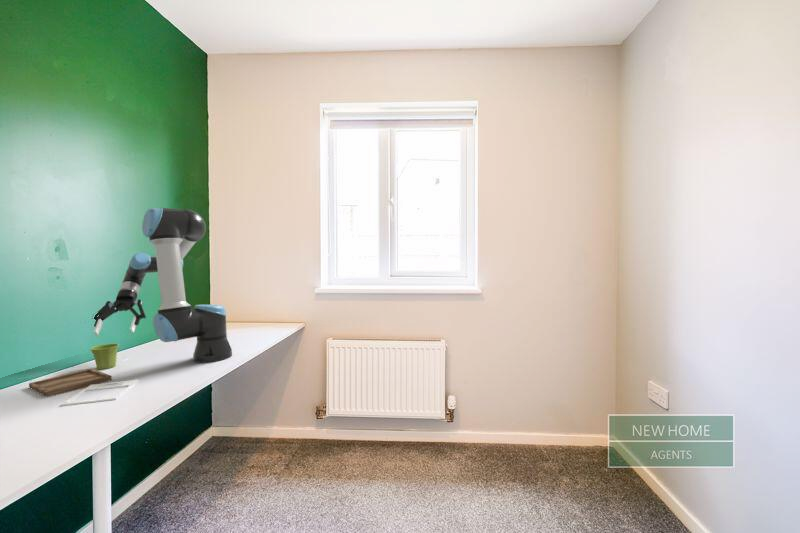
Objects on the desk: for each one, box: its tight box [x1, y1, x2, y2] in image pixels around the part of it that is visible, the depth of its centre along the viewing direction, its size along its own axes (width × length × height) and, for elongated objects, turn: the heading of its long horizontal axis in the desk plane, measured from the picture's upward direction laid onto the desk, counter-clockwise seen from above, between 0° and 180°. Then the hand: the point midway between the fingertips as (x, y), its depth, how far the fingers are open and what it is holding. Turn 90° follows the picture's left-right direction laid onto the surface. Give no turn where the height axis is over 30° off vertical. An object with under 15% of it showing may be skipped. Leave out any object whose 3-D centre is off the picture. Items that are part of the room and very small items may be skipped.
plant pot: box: [89, 343, 120, 370], centre depth 155 cm, size 9×9×9 cm
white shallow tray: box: [60, 379, 139, 407], centre depth 127 cm, size 15×1×18 cm
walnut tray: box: [28, 368, 113, 398], centre depth 136 cm, size 18×18×2 cm
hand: (113, 332), depth 163 cm, fingers open, 13 cm apart
